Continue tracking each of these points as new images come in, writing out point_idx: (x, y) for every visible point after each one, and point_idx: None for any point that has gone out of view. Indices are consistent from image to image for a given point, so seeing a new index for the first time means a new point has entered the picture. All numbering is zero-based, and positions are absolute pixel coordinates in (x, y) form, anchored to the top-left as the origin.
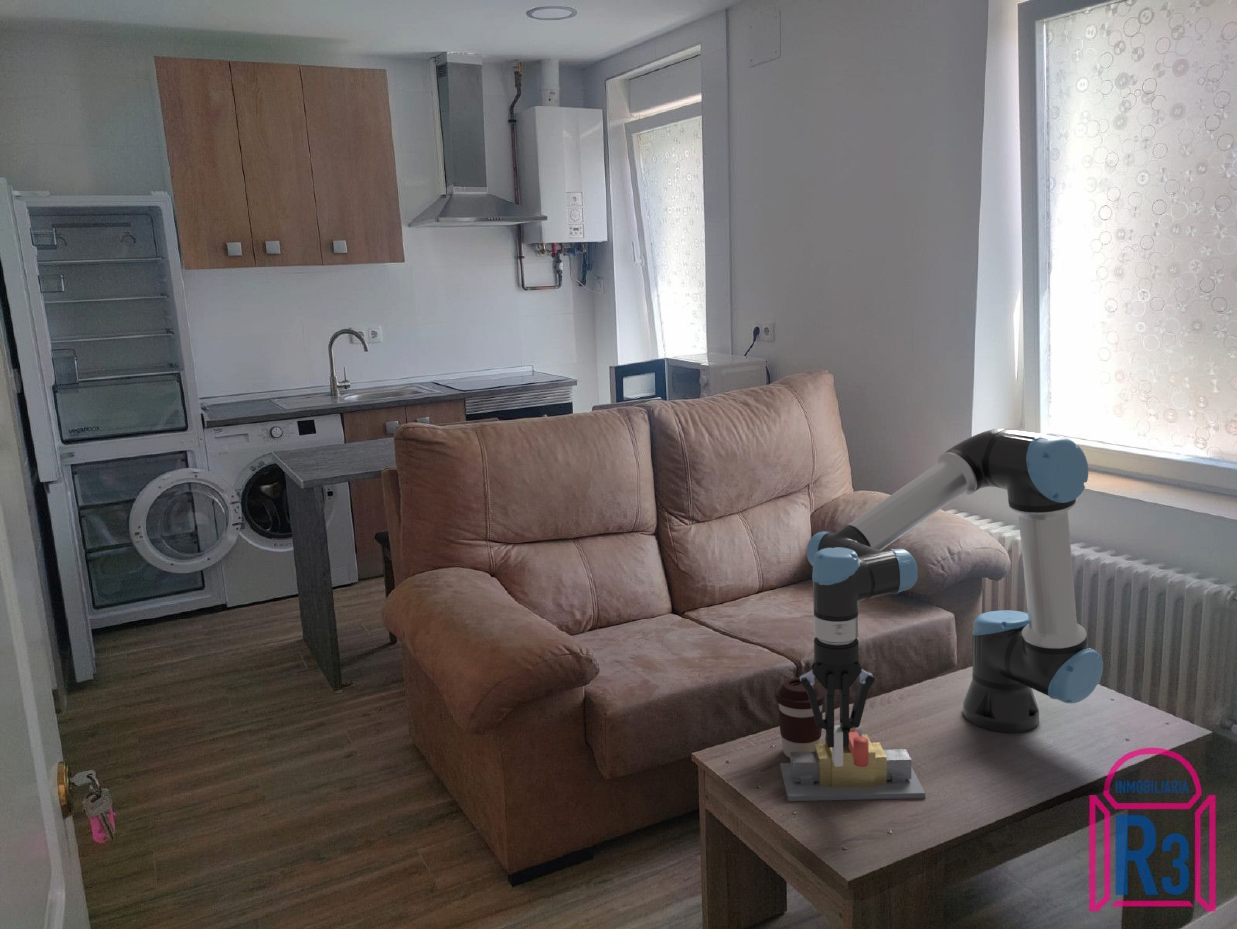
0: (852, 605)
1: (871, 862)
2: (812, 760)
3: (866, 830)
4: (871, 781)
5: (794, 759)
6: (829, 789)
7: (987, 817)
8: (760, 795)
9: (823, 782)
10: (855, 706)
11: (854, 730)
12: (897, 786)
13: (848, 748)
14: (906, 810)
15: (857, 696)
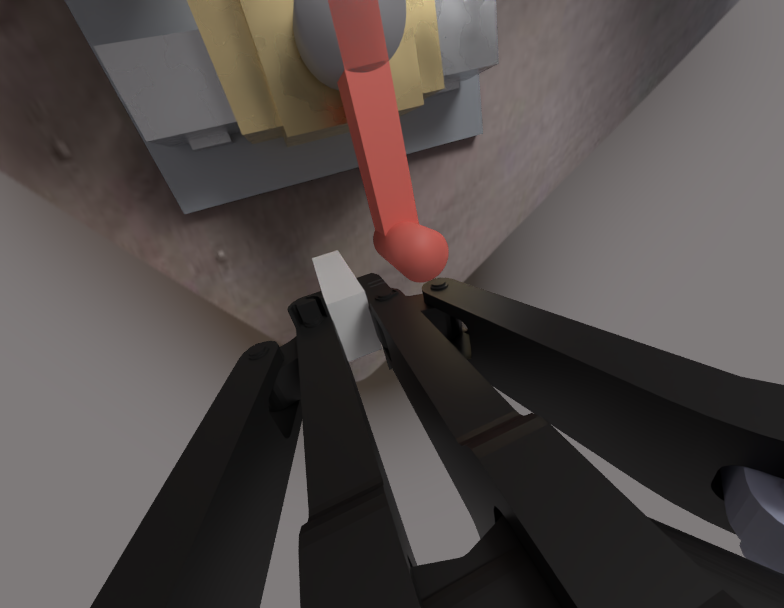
0: None
1: (383, 351)
2: (212, 111)
3: None
4: None
5: (140, 113)
6: (281, 156)
7: (553, 184)
8: (94, 199)
9: (261, 140)
10: (497, 366)
11: (377, 50)
12: (433, 112)
13: None
14: (439, 191)
15: (559, 390)
